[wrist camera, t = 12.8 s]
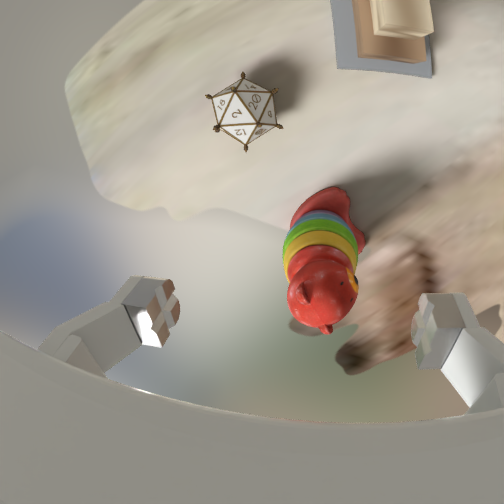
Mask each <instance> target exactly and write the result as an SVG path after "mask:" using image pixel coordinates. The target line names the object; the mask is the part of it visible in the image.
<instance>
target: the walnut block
mask: <svg viewBox="0 0 504 504" xmlns="http://www.w3.org/2000/svg"><path fill="white" fill-rule="evenodd" d="M352 7H353V14H354V23H355V32H356V42H357V54H358V58H368V59H379V60H389V61H397V62H404V63H411V64H415V63H420V62H425V61H426V48H425V37H424V36H423V37H421V38H419V39H417V40H410V39H403V38H397V37H389V36H381V35H374V30H373V21H372V13H371V6H370V0H352Z"/></svg>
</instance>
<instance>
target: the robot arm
mask: <svg viewBox="0 0 504 504" xmlns="http://www.w3.org/2000/svg"><path fill="white" fill-rule="evenodd" d="M174 290H175V288H174V285H173V282H172V281H171V280H170V279H163V278H156V277H147V276H138V275H134V276H131V277H130V278H129V279H128V280H127V281H126V283H125V284H124V285H123V286H122V287H121V288H120V290H119V291H118V292H117V293H116V294H115V296H114V297H113V298H112V299H111V300H110V302H104V303H102V304H100V305H98V306H96V307H94V308H92V309H90V310H88V311H86V312H85V313H83V314H80V315H78V316H77V317H75V318H73V319H71V320H69V321H67V322H65V323H63V324H61V325H59V326H57V327H55V328H54V329H53V331H52V332H51V333H50V334H49V335H48V337H47V338H46V339H45V341H43V343H42V344H41V345H40V346H39V348H38V349H35V348H33V347H31V346H29V345H27V344H25V343H23V342H21V341H20V340H18V339H16V338H14V337H12V336H10V335H8V334H7V333H5V332H3V331H1V330H0V504H504V344H503V343H502V342H501V341H500V340H499V339H498V338H496V337H495V336H494V335H493V334H492V333H490V332H489V331H488V330H487V329H486V328H484V327H480V325H479V323H478V321H477V319H476V316H475V314H474V312H473V310H472V307H471V305H470V303H469V301H468V299H467V297H466V295H465V294H464V293H422V295H421V296H420V299H419V302H418V305H419V308H420V310H419V311H417V312H416V313H415V314H414V318H413V321H412V328H411V335H412V341H413V343H414V344H415V345H416V346H417V349H416V352H415V356H416V361H417V366H418V369H441V371H442V372H443V373H444V374H445V376H446V377H447V378H448V380H449V381H450V382H451V384H452V385H453V386H454V388H455V389H456V390H457V391H458V393H459V394H460V395H461V397H462V398H463V399H464V401H465V402H466V404H467V405H468V406H469V409H468V410H467V412H466V413H465V414H464V415H462V416H455V417H448V418H440V419H431V420H421V421H408V422H389V423H335V422H334V423H333V422H315V421H302V420H291V419H281V418H272V417H264V416H257V415H250V414H244V413H238V412H231V411H226V410H221V409H216V408H210V407H206V406H201V405H197V404H192V403H188V402H183V401H179V400H176V399H172V398H168V397H164V396H161V395H157V394H153V393H150V392H146V391H143V390H140V389H136V388H133V387H130V386H127V385H124V384H121V383H118V382H115V381H112V380H109V379H108V378H107V377H106V375H105V374H104V373H105V372H106V371H107V370H109V369H110V368H112V367H113V366H114V365H115V364H117V363H118V362H120V361H121V360H122V359H124V358H125V357H126V356H128V355H129V354H130V353H132V352H133V351H134V350H136V349H137V348H138V347H140V346H141V345H142V344H145V345H150V346H156V347H161V348H162V347H163V345H164V344H165V342H166V340H167V338H168V337H169V335H170V332H169V328H171V327H173V326H174V325H175V324H176V323H177V321H178V319H179V314H180V304H179V301H178V299H177V298H176V297H175V296H174V295H173V292H174Z"/></svg>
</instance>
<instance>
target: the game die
mask: <svg viewBox="0 0 504 504" xmlns="http://www.w3.org/2000/svg"><path fill="white" fill-rule="evenodd" d="M245 75H246V74H245V73H244V72H242V74H241V77H242V79H240V80H238V81H237V82H235V83H233V84H232V85H230V86H229V87H227V88H225V89H224V90H222V91H221V92H219V93H217V94H216V95H214V96H213V97H212V96H211V95H209V94H208V95H205V96H206V98H208V99H212V104H213V108H214V112H215V116H216V120H217V124H218V125H216V126H214V128H213V130H215V132H219V131H220V130H222V131H223V132H225V133H226V134H228V135H230V136H231V137H233V138H234V139H236V140H238V141H239V142H241V143H242V144H244V150H245V152H247V150H248V146H247V144H249V143H251V142H252V141H254V140H255V139H257V138H258V137H260V136H261V135H263V134H265V133H266V132H268V131H269V130H271V129H272V128H274V127H277V128H279V129H284V128H283V127H282V125H280V124H277V119H276V112H275V104H274V97H273V94H274V93H276V92H277V91H278V89H279V88H277V89H275V88H274V89H272V91H269V90H267V89H265V88H263V87H261V86H259V85H257V84H255V83H253V82H251V81H249V80H247V79H245Z"/></svg>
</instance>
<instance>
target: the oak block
mask: <svg viewBox="0 0 504 504" xmlns="http://www.w3.org/2000/svg"><path fill="white" fill-rule="evenodd" d="M370 6H371V13H372V21H373V30H374V35H381V36H389V37H397V38H403V39H410V40H417V39H419V38H421V37H423V36H426V35H428V34H430V33H433V32H434V28H433V21H432V14H431V7H430V1H429V0H370Z"/></svg>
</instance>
